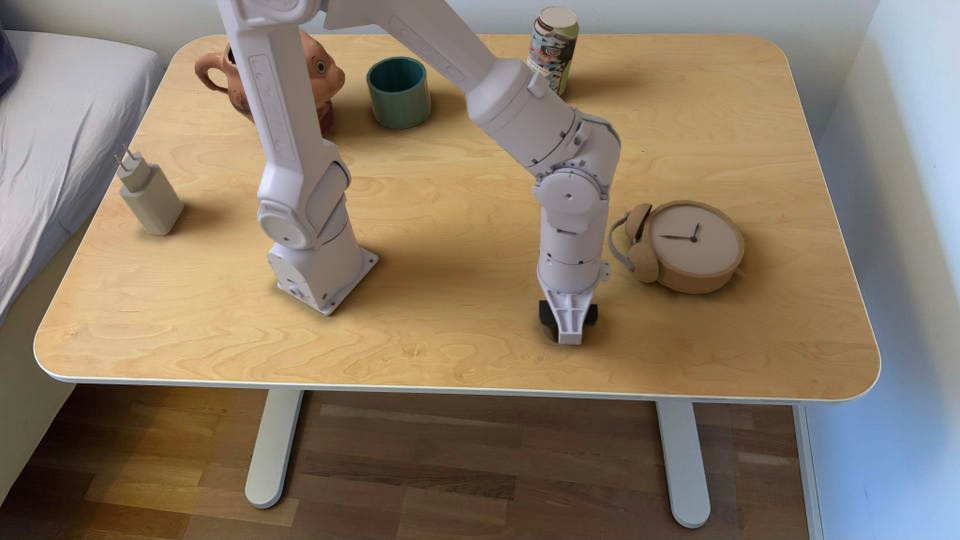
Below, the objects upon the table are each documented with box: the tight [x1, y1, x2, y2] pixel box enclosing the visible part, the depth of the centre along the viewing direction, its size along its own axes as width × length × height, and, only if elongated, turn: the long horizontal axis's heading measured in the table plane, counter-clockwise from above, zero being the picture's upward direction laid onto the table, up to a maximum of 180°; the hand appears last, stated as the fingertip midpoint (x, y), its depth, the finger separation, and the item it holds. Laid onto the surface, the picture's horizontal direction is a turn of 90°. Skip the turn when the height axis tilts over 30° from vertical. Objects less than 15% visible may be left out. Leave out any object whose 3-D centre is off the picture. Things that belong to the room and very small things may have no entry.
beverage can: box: [526, 5, 580, 97], centre depth 91 cm, size 6×7×12 cm
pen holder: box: [365, 55, 432, 130], centre depth 92 cm, size 8×8×6 cm
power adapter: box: [114, 143, 185, 236], centre depth 80 cm, size 3×5×12 cm, turn 169°
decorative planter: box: [194, 28, 346, 138], centre depth 88 cm, size 20×12×14 cm, turn 90°
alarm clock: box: [607, 199, 747, 295], centre depth 76 cm, size 11×5×15 cm
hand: (563, 319), depth 71 cm, fingers closed on tape roll, 4 cm apart
